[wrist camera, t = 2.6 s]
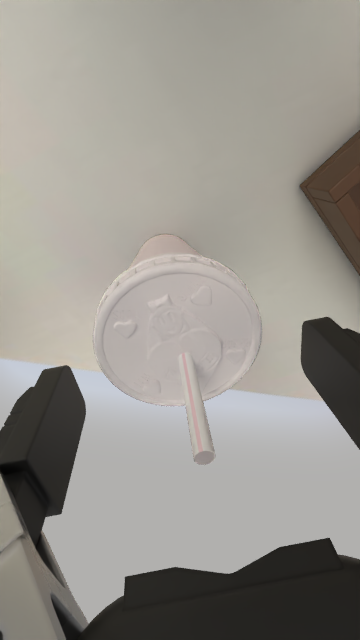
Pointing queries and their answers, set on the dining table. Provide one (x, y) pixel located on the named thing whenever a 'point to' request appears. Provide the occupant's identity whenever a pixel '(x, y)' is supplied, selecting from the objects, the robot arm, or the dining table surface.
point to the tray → (339, 197)
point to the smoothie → (177, 332)
